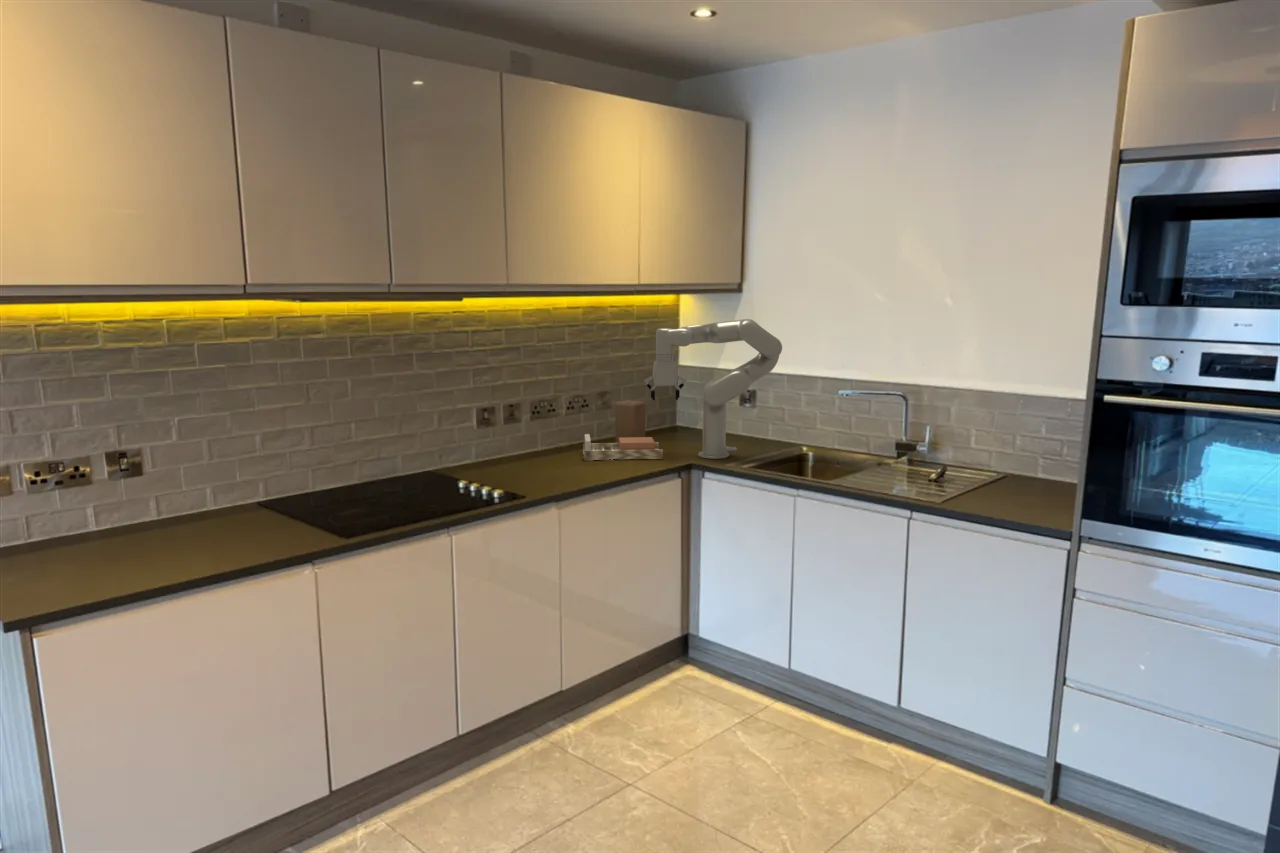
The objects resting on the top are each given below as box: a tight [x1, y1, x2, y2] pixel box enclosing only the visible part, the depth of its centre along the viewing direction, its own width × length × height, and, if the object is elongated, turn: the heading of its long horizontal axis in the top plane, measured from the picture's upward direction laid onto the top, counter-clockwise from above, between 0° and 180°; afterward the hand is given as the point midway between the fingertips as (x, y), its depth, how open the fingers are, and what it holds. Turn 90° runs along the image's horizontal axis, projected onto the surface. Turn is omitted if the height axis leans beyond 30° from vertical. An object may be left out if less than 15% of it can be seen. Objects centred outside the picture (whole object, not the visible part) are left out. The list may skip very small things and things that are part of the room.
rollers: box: [591, 445, 621, 450], centre depth 342 cm, size 26×14×2 cm, turn 95°
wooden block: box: [615, 399, 646, 443], centre depth 360 cm, size 10×10×20 cm
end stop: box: [584, 433, 592, 456], centre depth 340 cm, size 2×16×6 cm, turn 5°
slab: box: [619, 436, 656, 450], centre depth 342 cm, size 14×12×3 cm
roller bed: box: [582, 441, 664, 462], centre depth 342 cm, size 32×16×4 cm, turn 95°
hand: (665, 399), depth 340 cm, fingers open, 9 cm apart
